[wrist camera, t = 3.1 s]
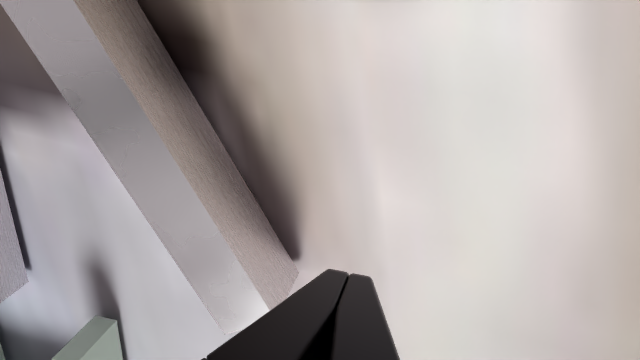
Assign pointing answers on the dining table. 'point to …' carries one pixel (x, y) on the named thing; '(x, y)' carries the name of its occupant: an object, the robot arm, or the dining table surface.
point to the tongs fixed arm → (9, 251)
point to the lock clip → (91, 342)
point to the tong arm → (161, 150)
